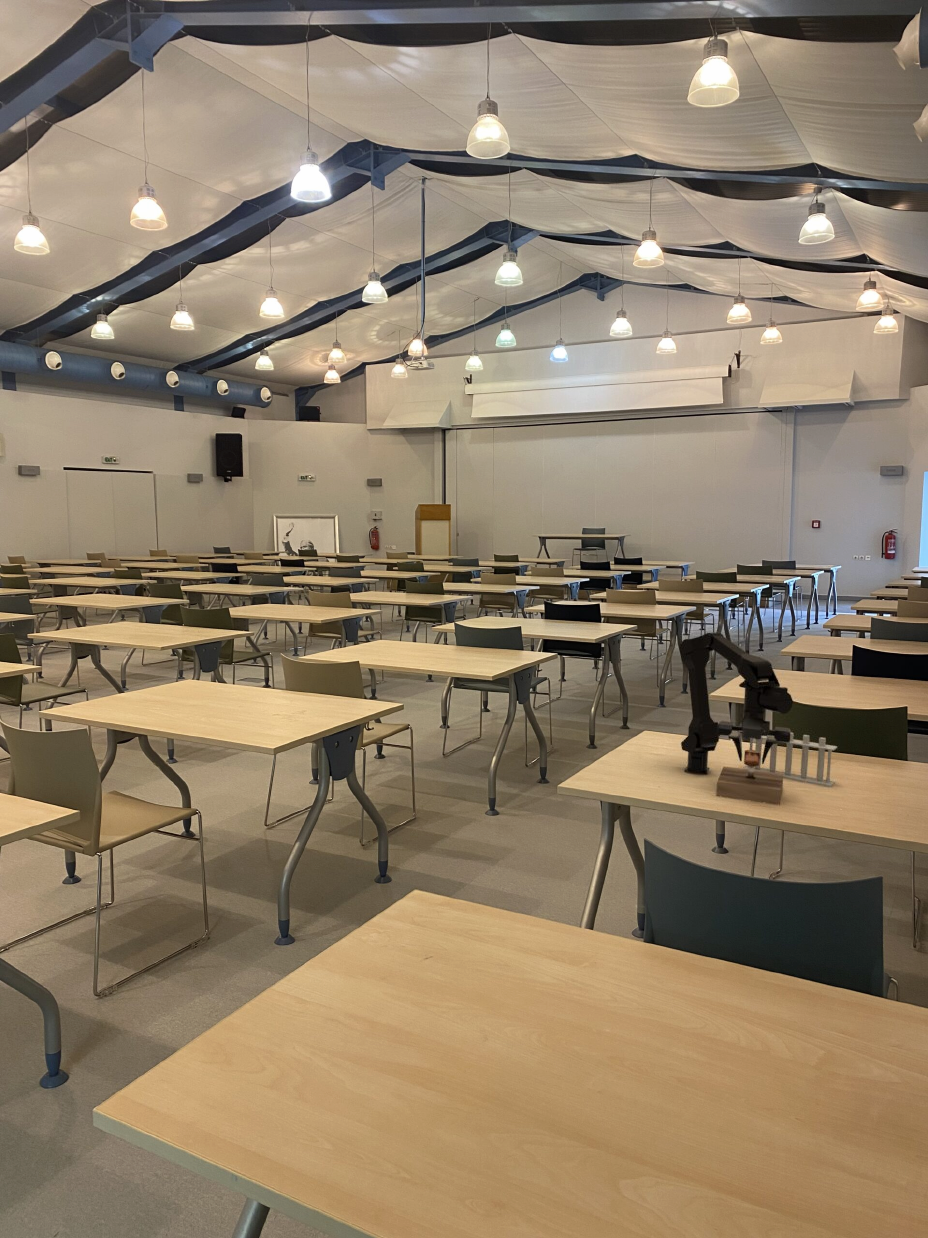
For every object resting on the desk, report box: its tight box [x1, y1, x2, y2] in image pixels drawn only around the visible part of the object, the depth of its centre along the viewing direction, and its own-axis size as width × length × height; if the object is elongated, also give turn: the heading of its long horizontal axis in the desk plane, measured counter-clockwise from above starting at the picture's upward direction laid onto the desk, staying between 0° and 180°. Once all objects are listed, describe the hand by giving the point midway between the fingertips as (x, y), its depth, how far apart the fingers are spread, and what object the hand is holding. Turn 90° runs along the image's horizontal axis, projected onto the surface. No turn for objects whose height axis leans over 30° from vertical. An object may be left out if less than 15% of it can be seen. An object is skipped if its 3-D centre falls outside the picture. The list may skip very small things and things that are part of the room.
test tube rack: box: [742, 732, 838, 788], centre depth 242 cm, size 25×4×13 cm, turn 53°
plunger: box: [743, 749, 760, 779], centre depth 227 cm, size 4×4×8 cm
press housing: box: [716, 766, 784, 806], centre depth 227 cm, size 16×16×4 cm
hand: (751, 762), depth 227 cm, fingers open, 5 cm apart
